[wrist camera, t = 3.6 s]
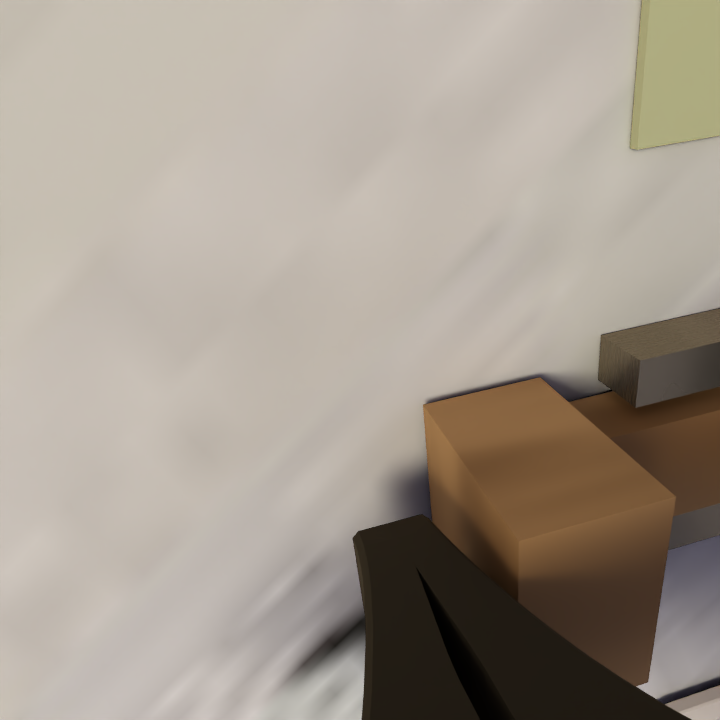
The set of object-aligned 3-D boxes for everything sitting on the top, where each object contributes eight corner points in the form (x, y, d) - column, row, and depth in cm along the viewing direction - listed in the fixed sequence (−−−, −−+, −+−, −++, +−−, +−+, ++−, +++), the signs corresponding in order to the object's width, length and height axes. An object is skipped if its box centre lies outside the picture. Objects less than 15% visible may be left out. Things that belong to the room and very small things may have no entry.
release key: (751, 469, 15) (920, 590, 11) (433, 559, 13) (517, 726, 10) (784, 317, 13) (995, 406, 10) (420, 401, 12) (518, 541, 8)
